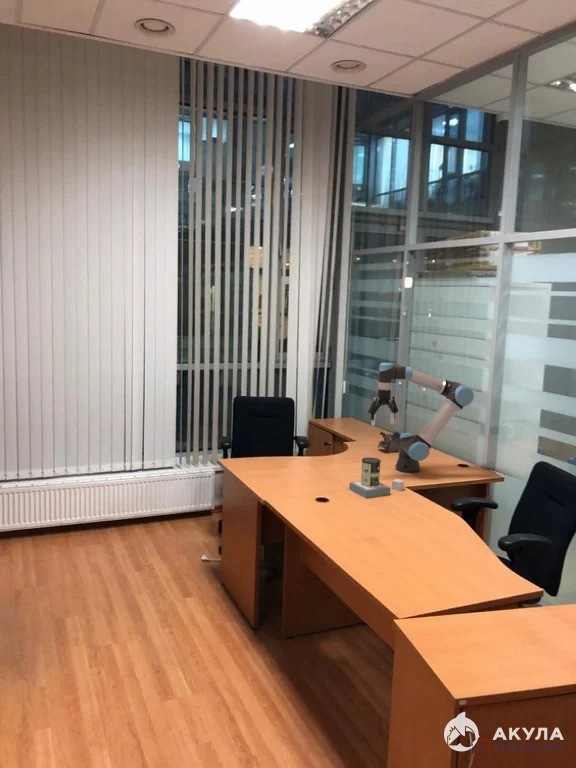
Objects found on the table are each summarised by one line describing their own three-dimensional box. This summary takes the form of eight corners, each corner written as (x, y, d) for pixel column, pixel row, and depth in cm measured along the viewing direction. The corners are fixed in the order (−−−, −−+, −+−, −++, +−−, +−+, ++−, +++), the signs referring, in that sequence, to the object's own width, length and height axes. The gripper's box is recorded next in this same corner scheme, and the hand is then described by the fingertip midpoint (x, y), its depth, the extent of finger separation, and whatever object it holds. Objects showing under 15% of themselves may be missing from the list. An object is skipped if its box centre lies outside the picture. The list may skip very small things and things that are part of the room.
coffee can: (379, 482, 348) (381, 458, 346) (378, 488, 338) (380, 463, 336) (361, 480, 350) (362, 456, 348) (359, 486, 340) (361, 461, 338)
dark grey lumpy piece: (382, 453, 425) (409, 454, 429) (383, 432, 424) (411, 432, 428) (374, 450, 438) (401, 450, 443) (376, 429, 437) (402, 430, 442)
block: (396, 487, 355) (396, 478, 354) (404, 489, 352) (404, 480, 351) (391, 489, 351) (392, 480, 351) (399, 491, 348) (399, 482, 347)
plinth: (372, 486, 356) (373, 478, 355) (390, 494, 342) (390, 487, 341) (349, 489, 348) (349, 482, 347) (365, 498, 334) (366, 490, 334)
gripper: (397, 387, 376) (395, 421, 379) (363, 389, 364) (361, 424, 367) (405, 389, 369) (403, 424, 372) (370, 391, 358) (369, 427, 361)
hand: (382, 424), depth 370 cm, fingers open, 13 cm apart
